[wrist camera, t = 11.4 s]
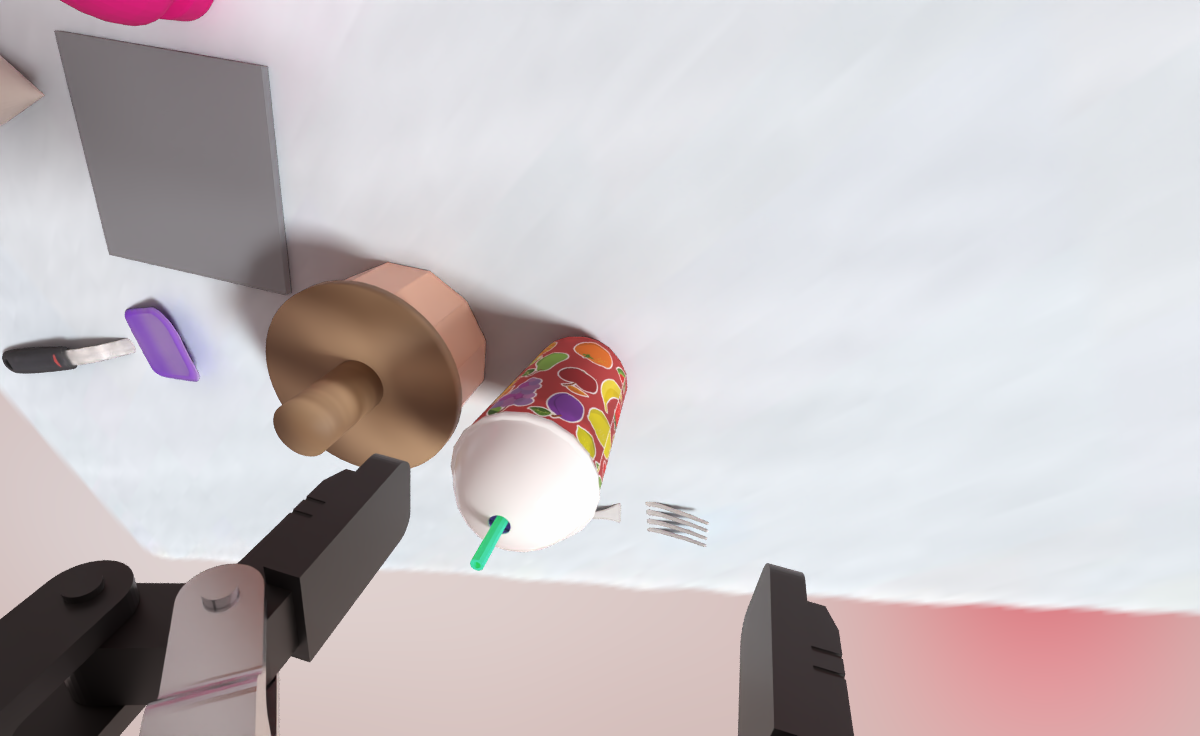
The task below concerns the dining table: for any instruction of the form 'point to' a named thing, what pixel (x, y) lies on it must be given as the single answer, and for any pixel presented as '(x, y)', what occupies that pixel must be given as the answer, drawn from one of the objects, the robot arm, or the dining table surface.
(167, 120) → the mat
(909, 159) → the dining table surface
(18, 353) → the spatula
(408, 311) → the lid
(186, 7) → the pepper mill
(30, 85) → the ice cream cone
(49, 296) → the dining table surface
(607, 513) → the fork
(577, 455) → the smoothie
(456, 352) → the bowl
